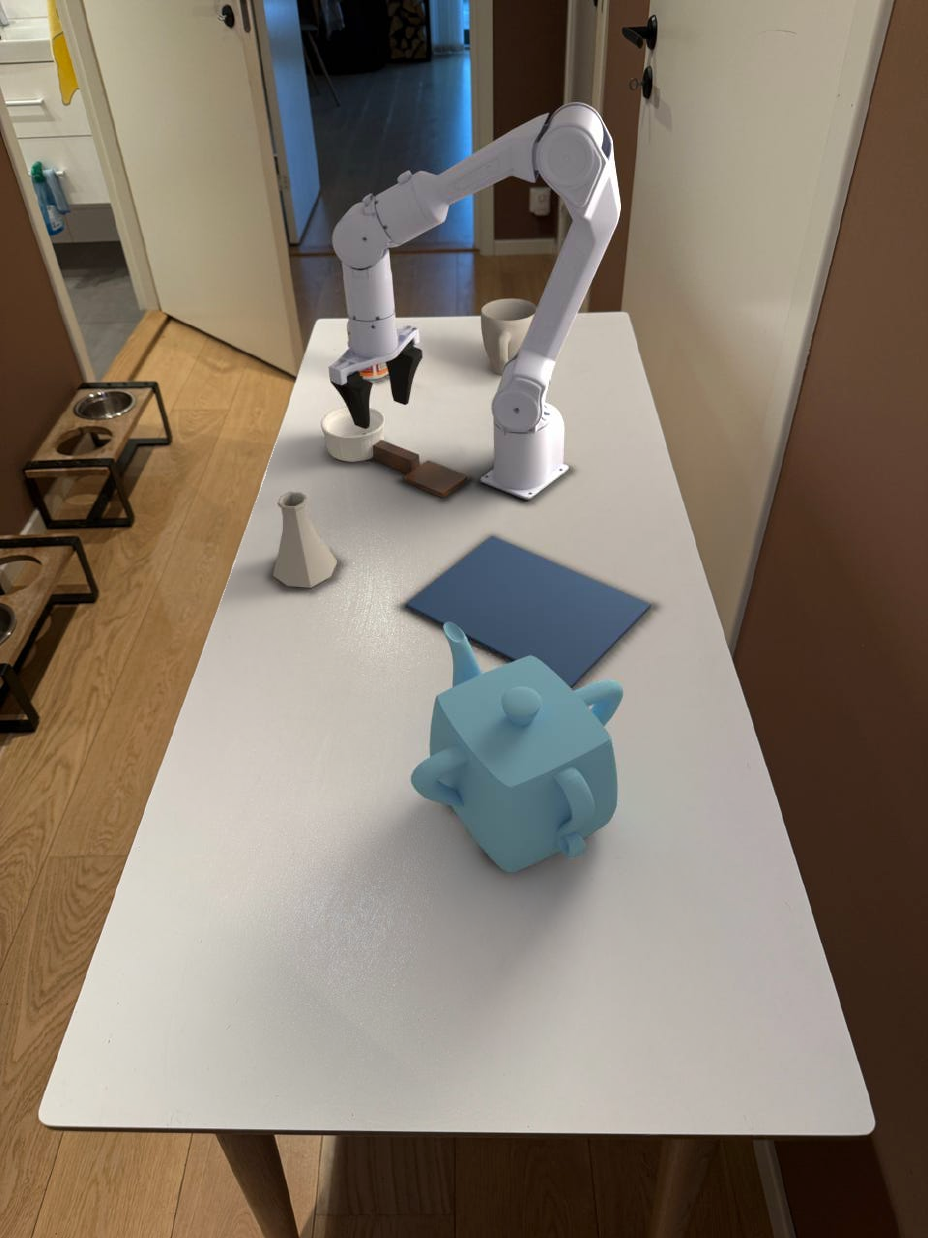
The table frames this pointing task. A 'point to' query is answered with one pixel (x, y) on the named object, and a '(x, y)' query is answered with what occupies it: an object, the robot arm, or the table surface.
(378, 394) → the table surface
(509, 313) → the mug
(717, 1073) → the table surface
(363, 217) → the robot arm
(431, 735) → the teapot
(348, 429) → the ramekin
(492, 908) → the table surface
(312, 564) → the flask
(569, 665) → the mat
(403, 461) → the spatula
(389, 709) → the table surface
